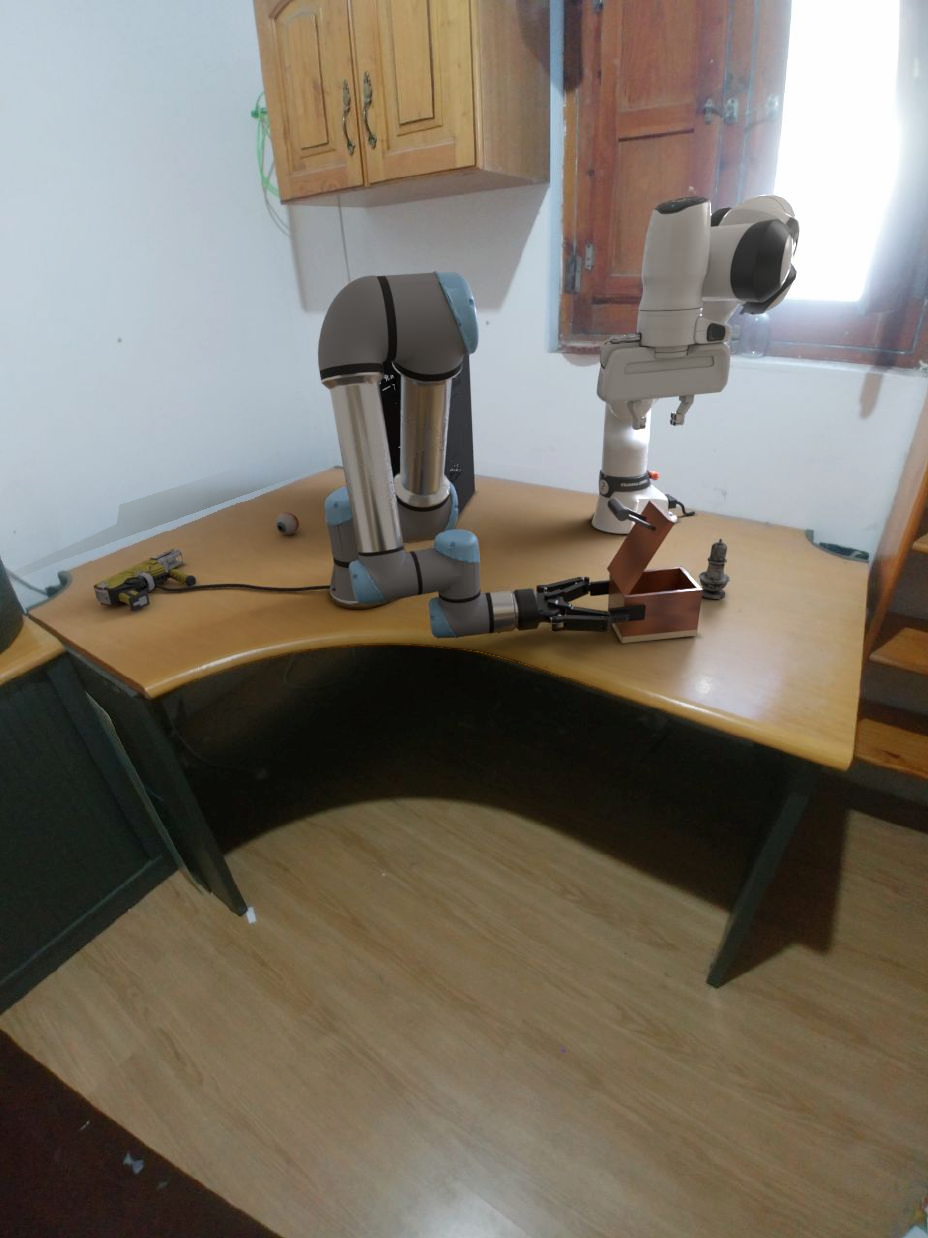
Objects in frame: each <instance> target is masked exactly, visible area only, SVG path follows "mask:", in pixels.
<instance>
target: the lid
mask: <svg viewBox="0 0 928 1238" xmlns="http://www.w3.org/2000/svg"><path fill="white" fill-rule="evenodd" d="M607 506H608V508H609V509H610V510H611V511H612V513H613V514H614V515H615V517H616V518H617V519H618V520H619V521H625V520H627V519H628V520H630V521H632V522H634V523H635V524H634V526H633V528H632V529H631V531H630V532H629V534H627V535H626V536H625V539H624V540H623V542H622V544H621V545H620V546H619V549H618V550H617V552H616V554H615V555H614V557H613V558H612V560H611V561H610V563H609V564H608V566H607V568H606V570H607V571H608V573H609V575H610V574H611V576H612V578H613V579H614V581H615V582H616V584H617V586H618V587H619V589H620V590H621V592H622V593H624V594H626V595H629V593H630V591H631V590H632V588H633V587H634V585H635V584H636V582H637V581H638V579H639V578H640V576H641V575H642V573H643V572H644V570H646V568H647V567H648V565H649V564H650V562H651V561H652V559H653V558H654V556H655V555H656V554H657V552H658V550H659V549H660V547H661V546H662V544H663V543H664V541H665V539H666V538H667V537H668V535H669V534H670V532H671V530H672V529H673V527H674V525H675V524H676V522H674V521H673V520H672V519H671V518H670V517H669V516H668V515H667V514H666V513H665V512H664V511H663V510H662V509H661V508H660V507H659V506H658V505H657V504H656V503H654V502H652V501H650V500H649V502H648V503H647V505H646V507H645V508H644V510H643V511H642V513H641V514H640V513H637V512H635V511H633V510H631V509H628V508H626V507H624V506H623V505H622V504H621V502H620V501H619V500H618V499H617V498H611V499H610V500H609V501H608V503H607ZM629 514H630V515H629ZM631 515H633V516H635V517H637V518H638V519H637V518H635V517H633V516H631Z"/></svg>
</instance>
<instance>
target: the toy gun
mask: <svg viewBox="0 0 928 1238" xmlns="http://www.w3.org/2000/svg"><path fill="white" fill-rule="evenodd" d="M179 557H181V560H177V558H179ZM183 564H184V558H183V552H182V551H181V550H179V549H174V548H171V549H169V550H167V551H164V552H163V553H161V554H159V555H156V556H155V557H150V558H148V559H146V560H144V561H142V562H139V563H138V564H135V565H133V566H131V567H129V568H127V569H125V570H122V571H120V572H118V573H116V574H113V575H112V576H110V577H108V578H106V579H104V580H101V581H99V582H97V583H95V584H93V590H94V594H95V598H96V600H97V603H99V604H100V605H101V606H105V607H107V606H117V605H121V604H127V605H128V606H129V607H130V611H131V612H136V611H138V610H141V609H143V608H145V607H147V606H148V607H149V606H150V599H149V595H148V593H149V592H151V591H154V590H155V588H154V587H155V585H154V584H158V585H160V584H161V583H164V582H165V581H168V579H171V580H174V581H177V582H178V583H182V584H183V585H184V584H185V585H186V586H187V587H192V586H196V584H197V578H196V576H194V575H192V574H188V573H186V572H184V571H180V570H179V569H176V568H177V567H180V565H183Z"/></svg>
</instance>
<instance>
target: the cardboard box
mask: <svg viewBox="0 0 928 1238" xmlns="http://www.w3.org/2000/svg"><path fill="white" fill-rule="evenodd" d="M470 364H471V363H470V355H466V354H465V355H463V363H462V369H461V371H460V373H459V374H458V375H457V376H455V377H454V378H452V383H451V395H450V407H449V419H448V431H447V443H446V455H445V467H444V475H445V476H446V477H447V478H448V480H449V481H450V482H451V483H452V484H453V486H454V488H455V490H456V494H457V499H458V505H457V508H458V517H460V515H461V513H462V512H463V510H464V509H465V507H466V506H467V504H468V503H469V501H470V500H471V499H472V497H473V495H474V494H475V492H476V482H475V480H476V477H475V459H474V457H475V455H474V432H473V412H472V410H473V409H472V388H471V387H472V386H471V367H470V366H471V365H470ZM383 369H384V378H383V379H382V380H381V382H380V385H379V387H380V394H381V400H382V407H383V413H384V420H385V426H386V433H387V440H388V446H389V453H390V459H391V466H392V472H393V479H394V478H395V476H396V475H397V474H398V473H399V472H400V449H401V375H400V374H399V373H398V372H397V371H396V370H395V369H394V367H393V365H392V361H389V362H383Z"/></svg>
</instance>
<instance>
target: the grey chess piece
mask: <svg viewBox="0 0 928 1238" xmlns="http://www.w3.org/2000/svg"><path fill="white" fill-rule="evenodd" d="M727 551H728V545H727V543H724V542H723V538H719V539H718V541H716V542H714V543H713V544H712V545H711V549H710V555H709V556H708V557H707V561H708V564H707V569H706V571H702V572H700V573H699V574H698V578H699V583H700V587H701V588H702V589H703V593H702V598H706V599H711V600H717V599H722V598H724V597H725V596H726V591H724V589H725V588H726V586H727V585H728V583H729V582H730V580H731V578H730V576H729V575H728V574H726V573H725V565H726V564H727V562H728V559H726V557H727Z"/></svg>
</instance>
